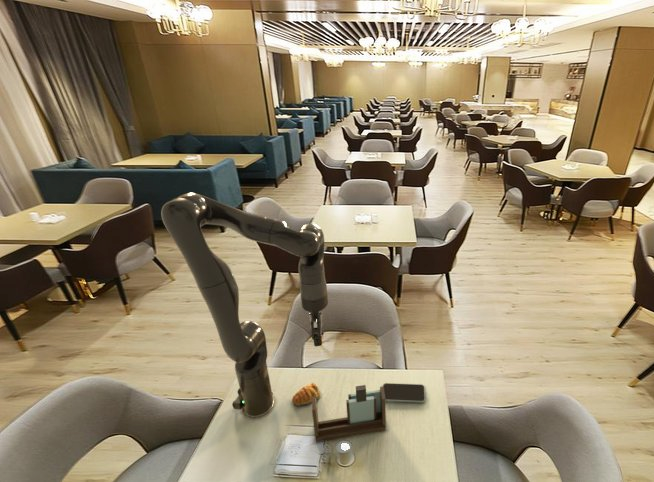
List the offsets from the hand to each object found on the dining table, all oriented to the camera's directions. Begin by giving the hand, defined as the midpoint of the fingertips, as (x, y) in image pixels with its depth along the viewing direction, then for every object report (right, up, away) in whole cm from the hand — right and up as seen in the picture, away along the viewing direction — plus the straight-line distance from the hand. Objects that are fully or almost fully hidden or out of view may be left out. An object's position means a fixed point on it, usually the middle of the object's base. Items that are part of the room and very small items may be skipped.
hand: (318, 336), depth 108 cm
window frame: (+9, -31, +5) cm, 33 cm away
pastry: (-7, -26, +15) cm, 31 cm away
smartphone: (+27, -26, +17) cm, 41 cm away
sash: (+13, -29, +5) cm, 32 cm away
